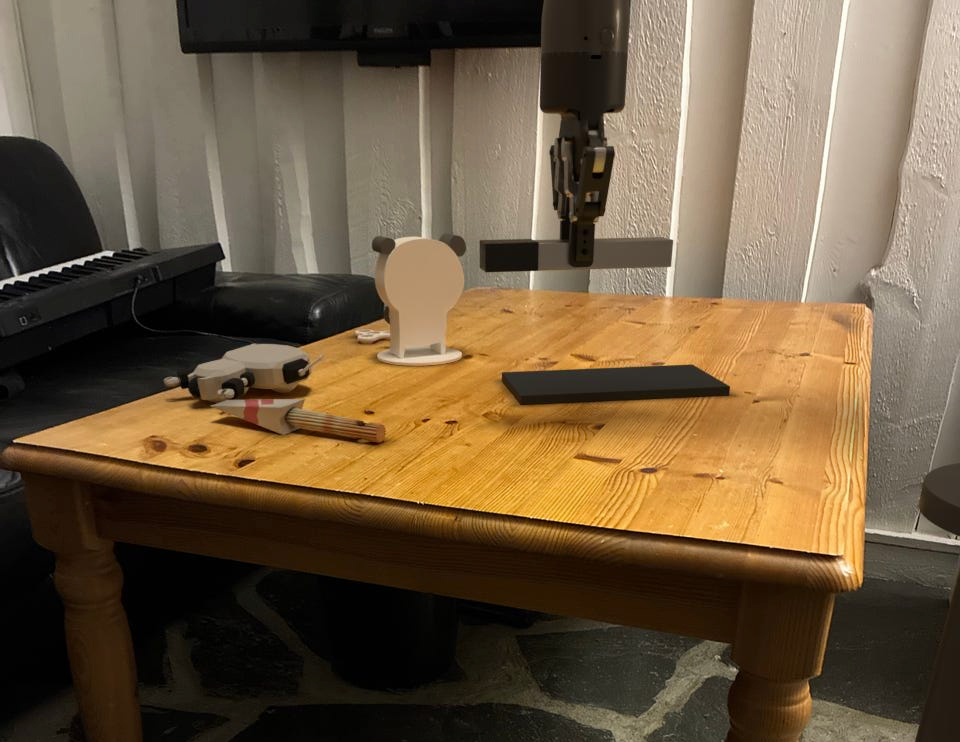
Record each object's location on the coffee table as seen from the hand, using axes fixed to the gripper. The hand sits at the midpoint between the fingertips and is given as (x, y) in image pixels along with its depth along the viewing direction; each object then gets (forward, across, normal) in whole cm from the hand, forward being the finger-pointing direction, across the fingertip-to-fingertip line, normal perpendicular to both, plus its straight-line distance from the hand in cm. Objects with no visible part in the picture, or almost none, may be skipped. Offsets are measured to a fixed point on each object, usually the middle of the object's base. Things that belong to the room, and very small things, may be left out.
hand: (575, 263), depth 89 cm
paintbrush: (+15, -2, -28) cm, 32 cm away
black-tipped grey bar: (0, 0, 0) cm, 0 cm away
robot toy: (+16, -18, -33) cm, 41 cm away
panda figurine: (+16, -36, -11) cm, 41 cm away
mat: (+15, -14, +9) cm, 22 cm away
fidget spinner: (+15, -50, -16) cm, 55 cm away
